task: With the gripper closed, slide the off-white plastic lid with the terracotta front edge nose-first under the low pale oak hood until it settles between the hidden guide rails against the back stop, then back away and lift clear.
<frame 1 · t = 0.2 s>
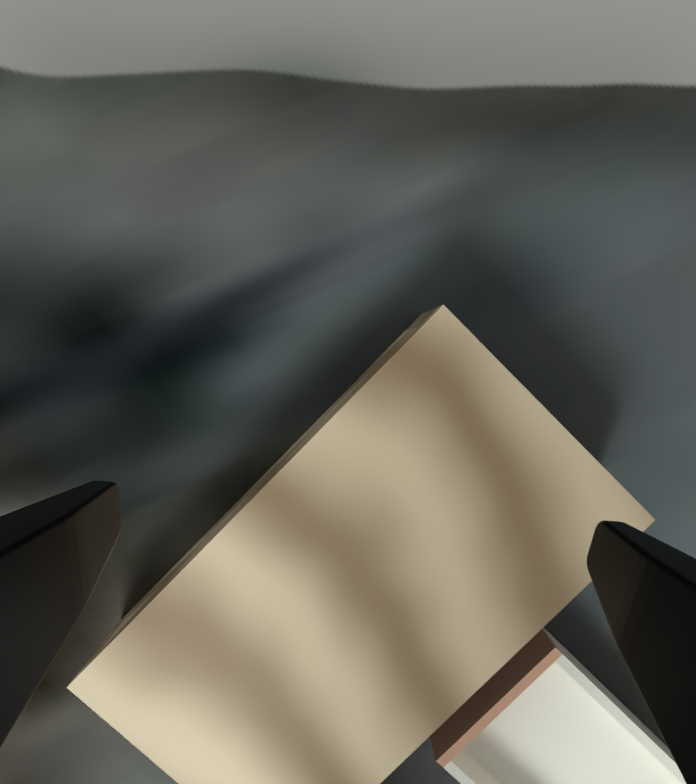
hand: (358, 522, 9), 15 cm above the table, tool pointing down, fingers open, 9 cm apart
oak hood: (359, 556, 25), on the table
shell lid: (582, 766, 26), on the table
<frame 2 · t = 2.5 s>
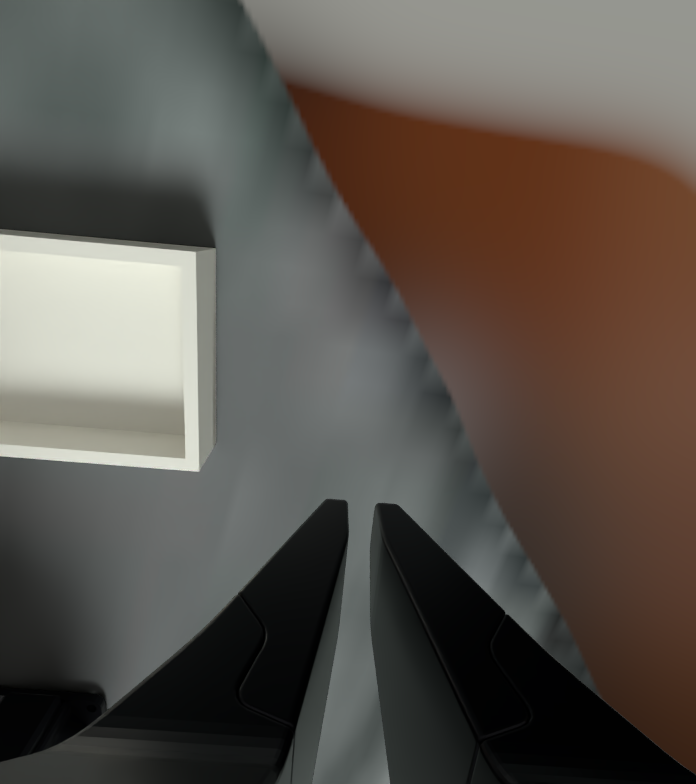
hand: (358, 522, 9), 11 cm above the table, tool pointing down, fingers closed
shell lid: (12, 335, 19), on the table
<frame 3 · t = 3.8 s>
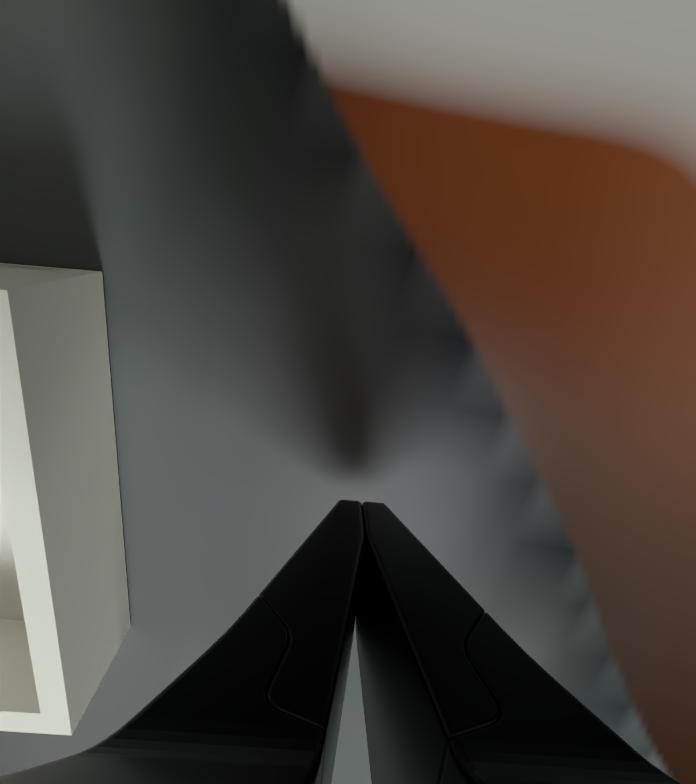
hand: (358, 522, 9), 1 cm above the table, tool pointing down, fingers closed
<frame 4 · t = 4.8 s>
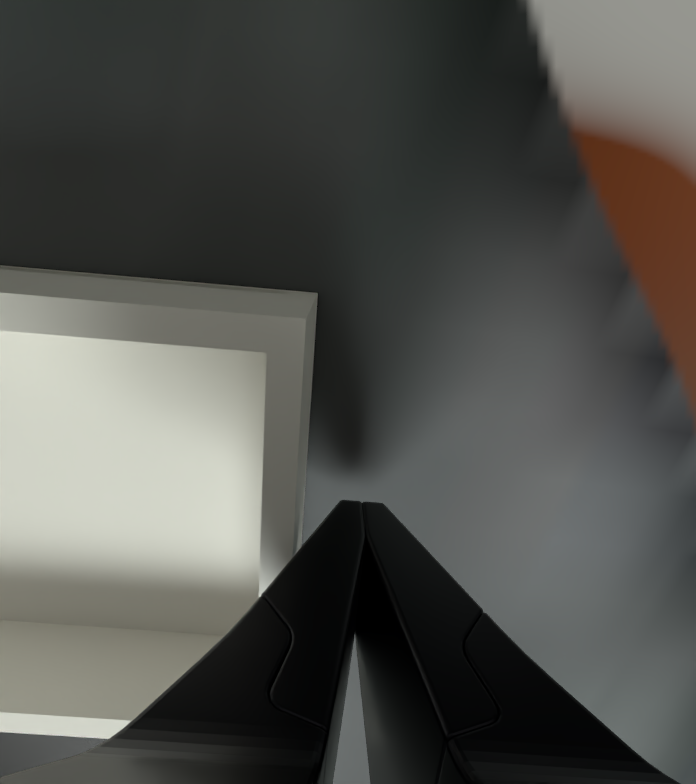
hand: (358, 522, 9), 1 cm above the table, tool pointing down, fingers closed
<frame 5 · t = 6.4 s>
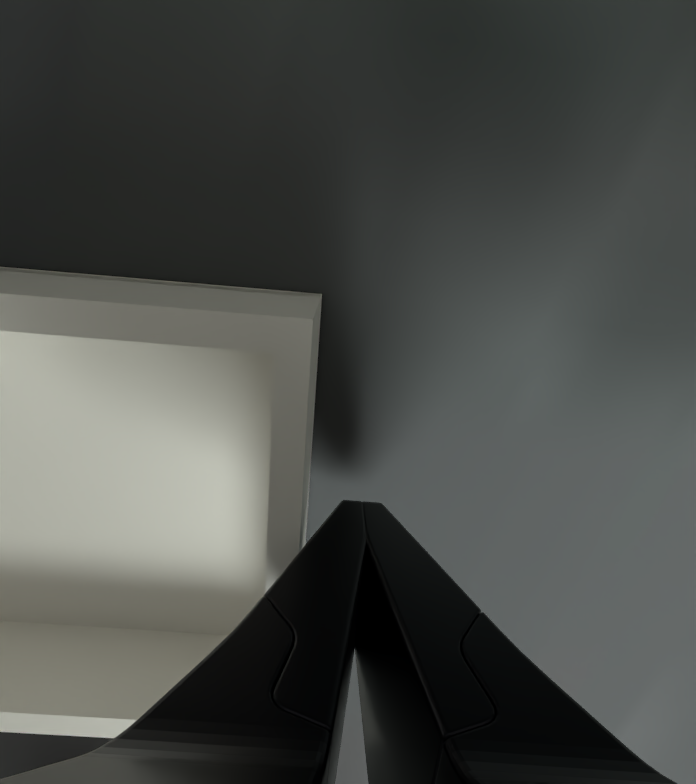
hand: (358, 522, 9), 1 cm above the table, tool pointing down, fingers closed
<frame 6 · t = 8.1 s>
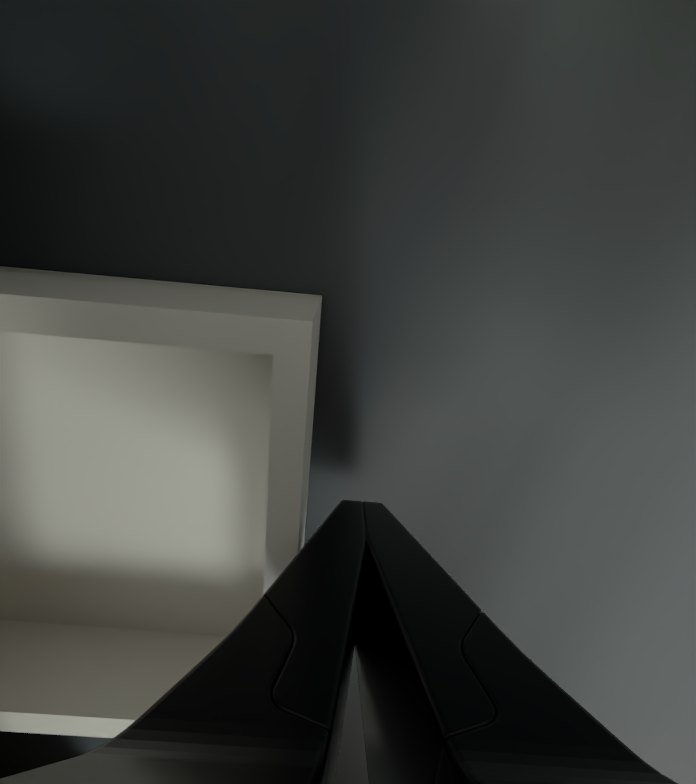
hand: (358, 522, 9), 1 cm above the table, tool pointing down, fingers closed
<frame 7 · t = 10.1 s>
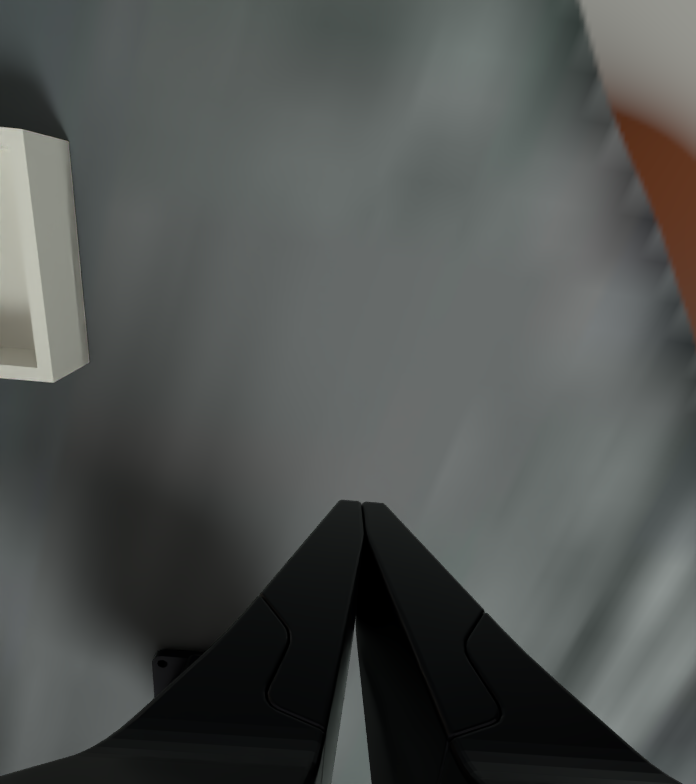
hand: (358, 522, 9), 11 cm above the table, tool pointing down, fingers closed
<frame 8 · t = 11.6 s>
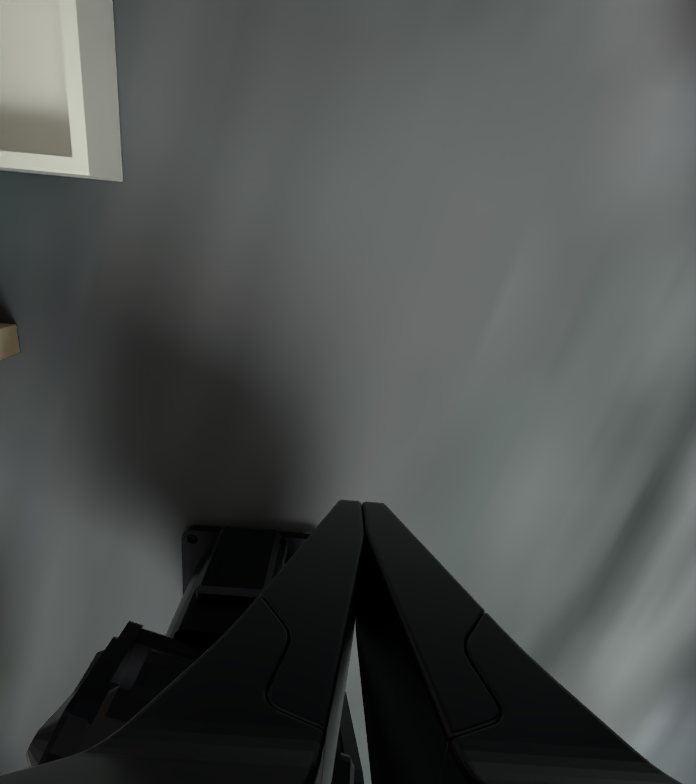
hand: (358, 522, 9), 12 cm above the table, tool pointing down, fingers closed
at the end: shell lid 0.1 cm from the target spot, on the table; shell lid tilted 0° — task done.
